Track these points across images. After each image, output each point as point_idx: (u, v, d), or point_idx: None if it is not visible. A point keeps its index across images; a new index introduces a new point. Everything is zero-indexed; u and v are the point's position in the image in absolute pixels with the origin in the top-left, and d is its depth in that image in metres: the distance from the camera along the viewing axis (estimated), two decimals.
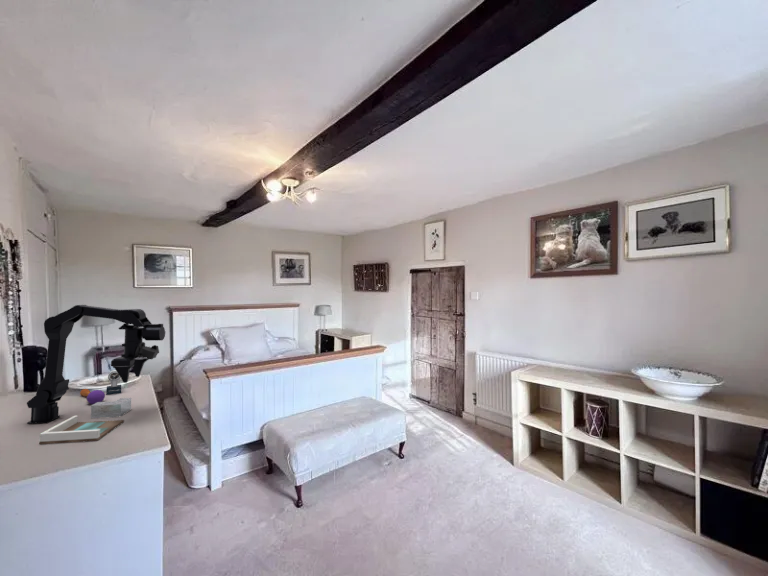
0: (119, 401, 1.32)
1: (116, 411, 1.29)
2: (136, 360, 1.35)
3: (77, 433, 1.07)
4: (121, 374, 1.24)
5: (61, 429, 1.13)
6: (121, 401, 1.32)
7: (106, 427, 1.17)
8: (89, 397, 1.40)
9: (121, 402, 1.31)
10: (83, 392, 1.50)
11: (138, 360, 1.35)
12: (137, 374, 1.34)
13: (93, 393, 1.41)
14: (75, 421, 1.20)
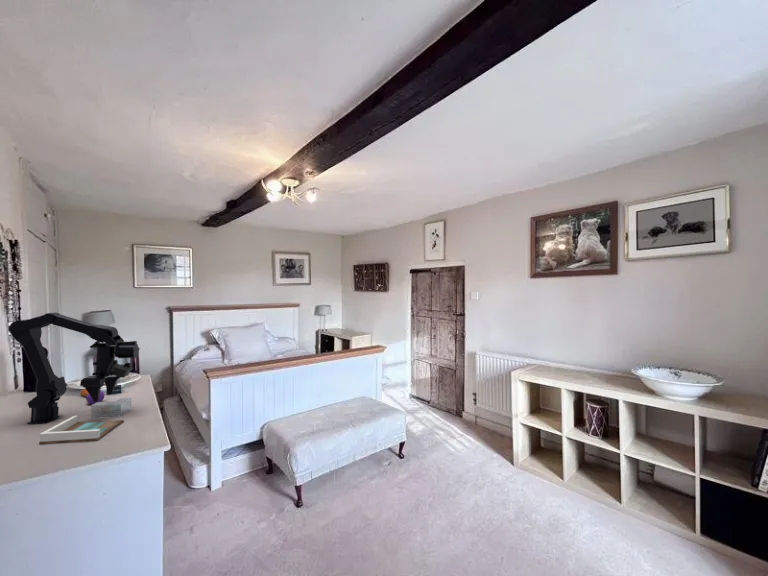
0: (119, 401, 1.32)
1: (116, 411, 1.29)
2: (109, 378, 1.34)
3: (77, 433, 1.07)
4: (91, 393, 1.24)
5: (61, 429, 1.13)
6: (121, 401, 1.32)
7: (106, 427, 1.17)
8: (88, 397, 1.40)
9: (121, 402, 1.31)
10: (83, 392, 1.50)
11: (111, 377, 1.35)
12: (109, 391, 1.34)
13: None
14: (75, 421, 1.20)
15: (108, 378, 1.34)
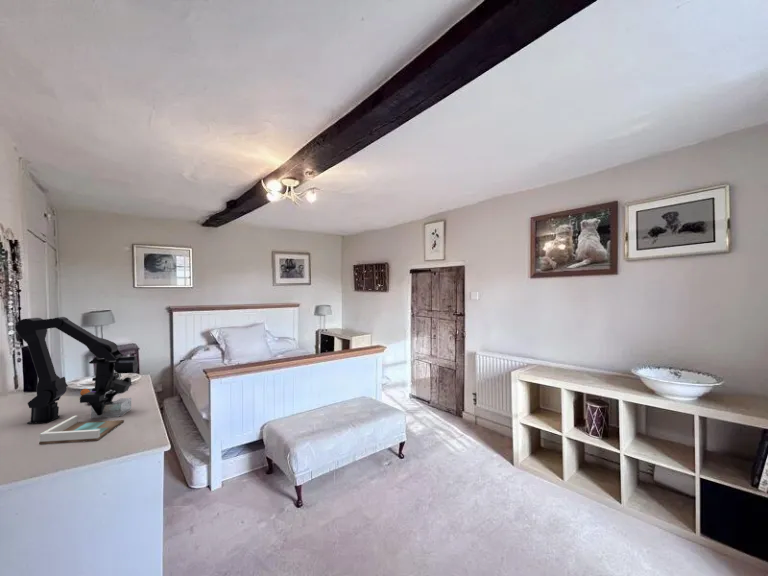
0: (119, 401, 1.32)
1: (116, 411, 1.29)
2: (105, 394, 1.32)
3: (77, 433, 1.07)
4: (95, 407, 1.26)
5: (61, 429, 1.13)
6: (121, 401, 1.32)
7: (106, 427, 1.17)
8: None
9: (121, 402, 1.31)
10: (83, 392, 1.50)
11: (107, 394, 1.32)
12: None
13: None
14: (75, 421, 1.20)
15: (104, 395, 1.32)
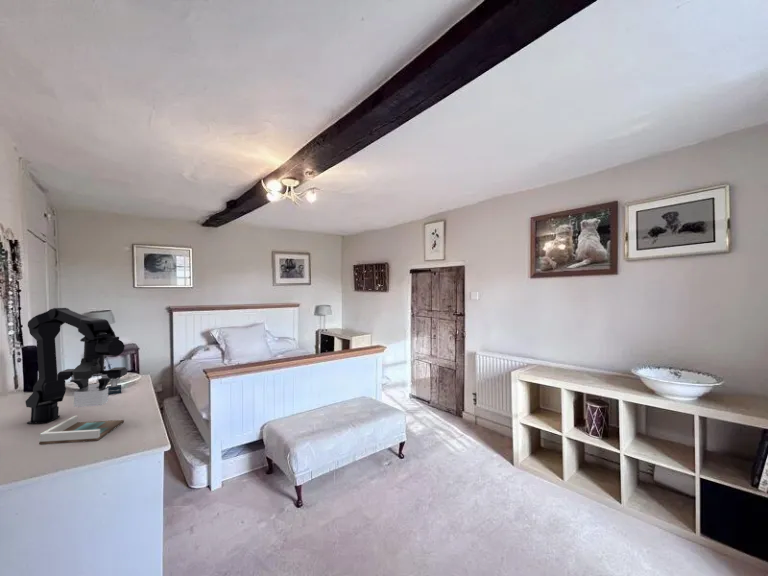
0: (90, 389, 1.14)
1: None
2: None
3: (77, 433, 1.07)
4: None
5: (61, 429, 1.13)
6: (88, 390, 1.13)
7: (106, 427, 1.17)
8: None
9: (84, 391, 1.13)
10: None
11: None
12: None
13: None
14: (75, 421, 1.20)
15: None
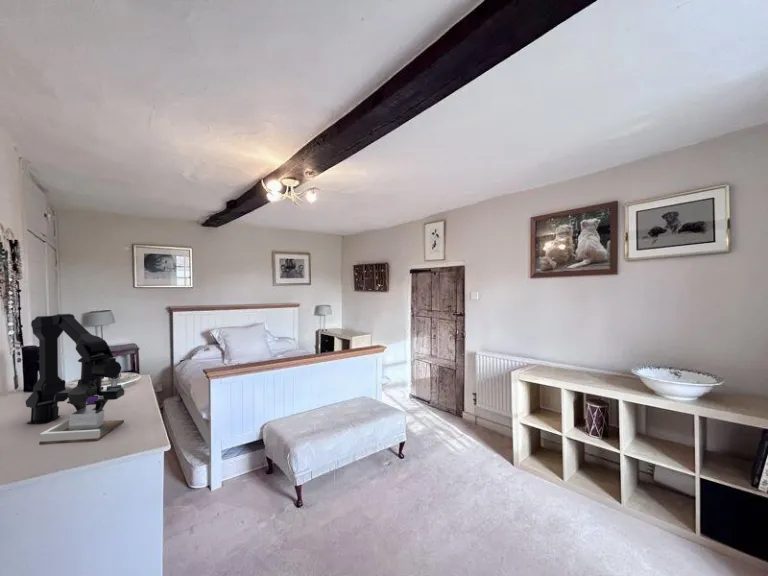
0: (86, 412, 1.13)
1: None
2: None
3: (77, 433, 1.07)
4: None
5: (61, 429, 1.13)
6: (83, 413, 1.12)
7: (106, 427, 1.17)
8: None
9: (79, 413, 1.11)
10: None
11: None
12: None
13: None
14: None
15: None
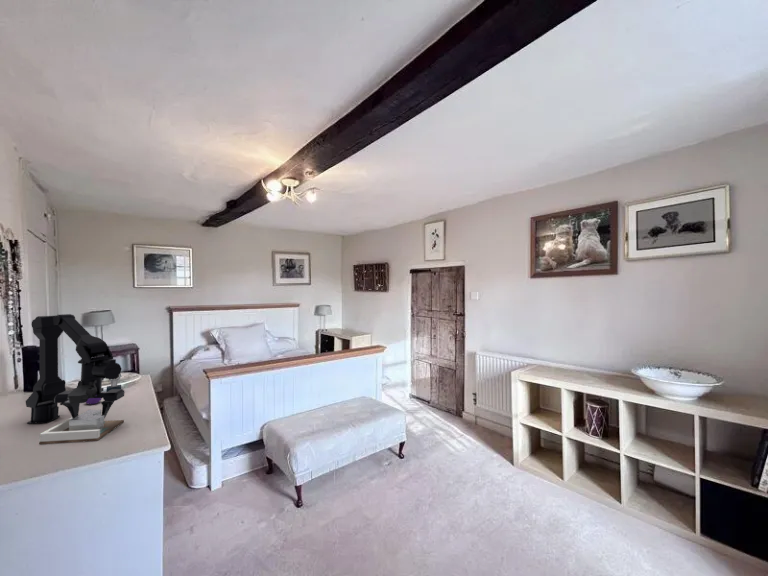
0: (86, 417, 1.13)
1: None
2: None
3: (77, 433, 1.07)
4: None
5: (61, 429, 1.13)
6: (83, 418, 1.12)
7: (106, 427, 1.17)
8: None
9: (79, 419, 1.11)
10: None
11: None
12: None
13: None
14: None
15: None
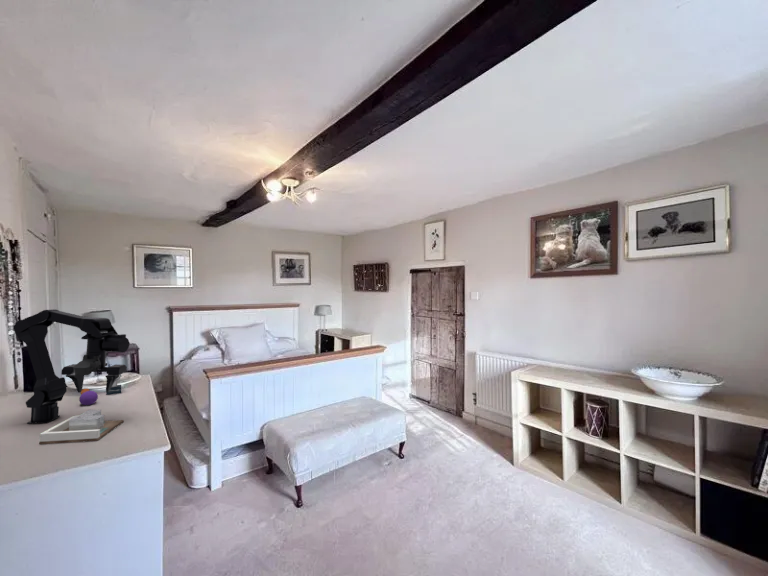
0: (86, 417, 1.13)
1: None
2: None
3: (77, 433, 1.07)
4: None
5: (61, 429, 1.13)
6: (83, 418, 1.12)
7: (106, 427, 1.17)
8: (81, 398, 1.39)
9: (79, 419, 1.11)
10: (82, 392, 1.51)
11: None
12: None
13: (85, 394, 1.40)
14: None
15: None
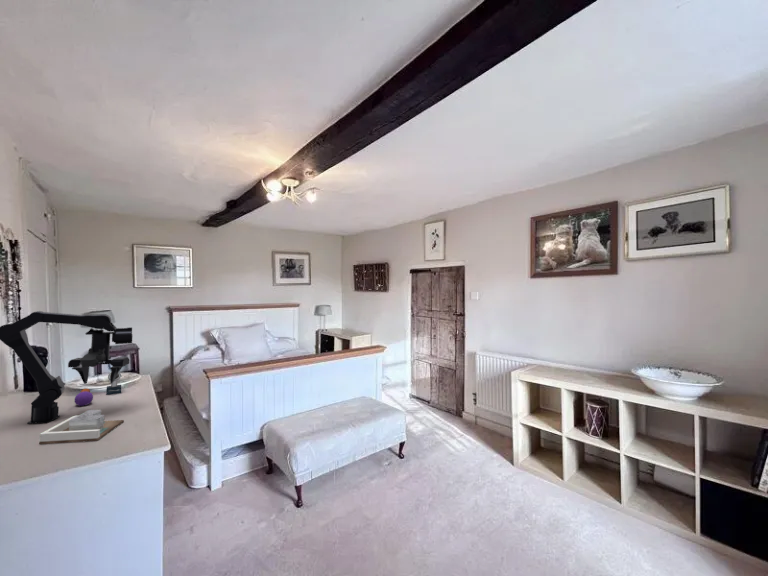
0: (86, 417, 1.13)
1: None
2: None
3: (77, 433, 1.07)
4: None
5: (61, 429, 1.13)
6: (83, 418, 1.12)
7: (106, 427, 1.17)
8: (75, 398, 1.38)
9: (79, 419, 1.11)
10: (81, 392, 1.50)
11: None
12: None
13: (80, 394, 1.39)
14: None
15: None
